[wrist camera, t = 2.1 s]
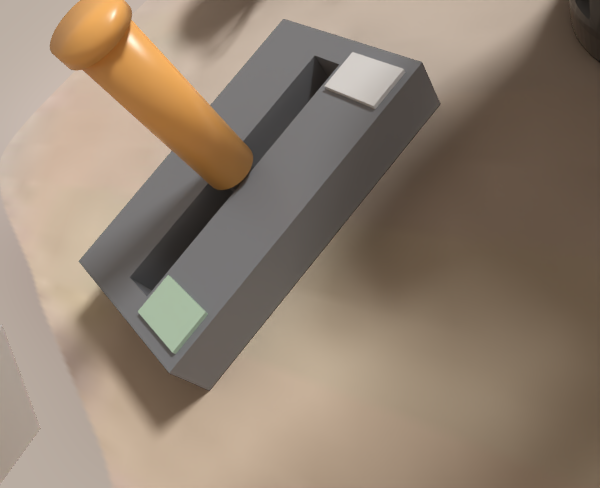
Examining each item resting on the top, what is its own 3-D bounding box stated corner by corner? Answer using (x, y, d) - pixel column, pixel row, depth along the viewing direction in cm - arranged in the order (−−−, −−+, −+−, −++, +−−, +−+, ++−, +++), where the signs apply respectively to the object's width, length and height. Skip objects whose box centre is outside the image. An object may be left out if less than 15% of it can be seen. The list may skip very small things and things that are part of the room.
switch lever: (259, 159, 42) (94, -19, 30) (295, 181, 39) (131, -5, 27) (221, 205, 42) (38, 44, 29) (255, 231, 39) (70, 65, 26)
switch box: (307, 55, 47) (281, 15, 44) (440, 103, 38) (420, 58, 35) (117, 282, 45) (75, 259, 42) (209, 390, 36) (165, 371, 33)
